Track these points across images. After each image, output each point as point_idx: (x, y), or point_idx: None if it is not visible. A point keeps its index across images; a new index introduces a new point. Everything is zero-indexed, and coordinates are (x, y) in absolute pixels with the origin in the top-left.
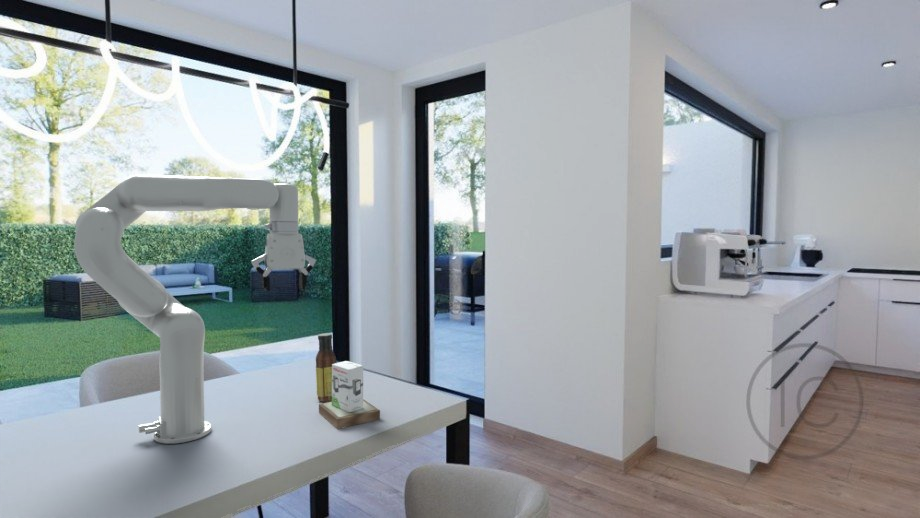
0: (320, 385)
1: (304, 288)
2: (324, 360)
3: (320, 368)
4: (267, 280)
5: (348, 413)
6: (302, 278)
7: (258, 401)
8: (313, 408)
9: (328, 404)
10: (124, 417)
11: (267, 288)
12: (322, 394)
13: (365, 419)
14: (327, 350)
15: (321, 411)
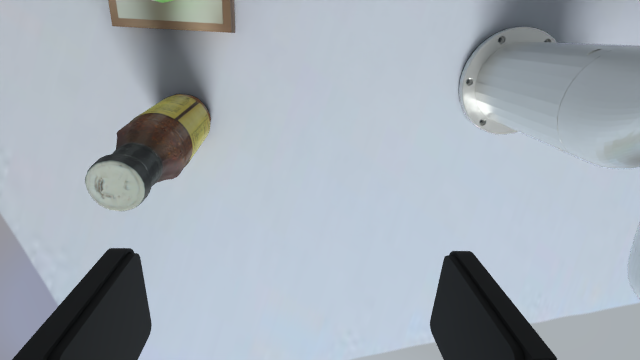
0: (198, 115)
1: (115, 249)
2: (163, 124)
3: (184, 126)
4: (523, 321)
5: None
6: (75, 332)
7: (328, 192)
8: (237, 73)
9: (210, 7)
10: (546, 235)
11: (478, 262)
12: (200, 106)
13: None
14: (136, 142)
15: (232, 11)
